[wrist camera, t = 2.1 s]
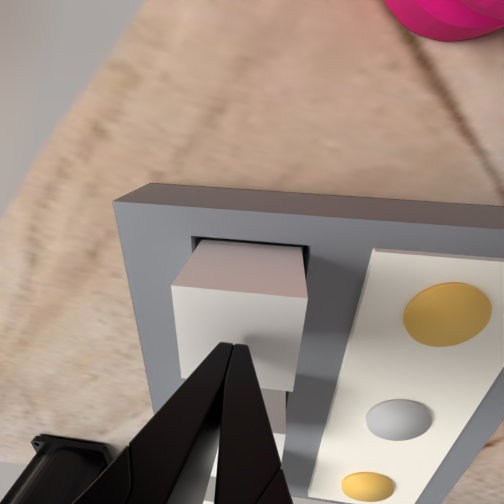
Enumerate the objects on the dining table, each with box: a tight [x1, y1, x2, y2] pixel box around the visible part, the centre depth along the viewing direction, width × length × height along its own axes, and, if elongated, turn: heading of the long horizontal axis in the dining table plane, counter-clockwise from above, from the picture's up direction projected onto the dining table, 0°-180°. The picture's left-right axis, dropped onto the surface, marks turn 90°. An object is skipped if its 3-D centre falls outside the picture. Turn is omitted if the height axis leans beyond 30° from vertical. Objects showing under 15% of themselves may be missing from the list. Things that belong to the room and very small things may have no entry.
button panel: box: [112, 183, 504, 504], centre depth 14 cm, size 17×19×4 cm
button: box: [171, 240, 308, 392], centre depth 10 cm, size 4×4×3 cm
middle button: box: [211, 388, 286, 477], centre depth 12 cm, size 4×4×3 cm
